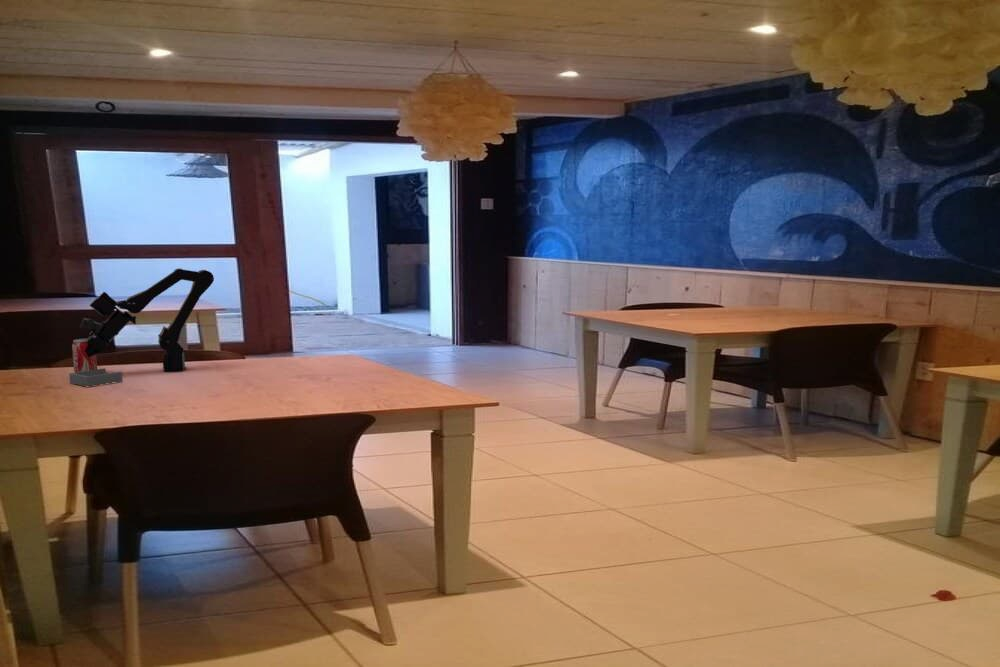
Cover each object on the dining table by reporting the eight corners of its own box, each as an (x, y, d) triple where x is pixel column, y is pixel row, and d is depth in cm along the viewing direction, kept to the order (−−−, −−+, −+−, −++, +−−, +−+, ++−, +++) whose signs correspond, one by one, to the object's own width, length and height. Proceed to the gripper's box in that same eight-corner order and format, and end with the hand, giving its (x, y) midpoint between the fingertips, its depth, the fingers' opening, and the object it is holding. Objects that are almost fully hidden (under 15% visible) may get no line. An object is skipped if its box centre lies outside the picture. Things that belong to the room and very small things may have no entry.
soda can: (95, 374, 272) (92, 337, 270) (100, 377, 266) (96, 339, 265) (72, 376, 267) (69, 339, 266) (77, 379, 262) (73, 341, 260)
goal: (105, 377, 265) (104, 368, 265) (122, 381, 258) (121, 371, 258) (70, 383, 256) (69, 373, 256) (87, 387, 249) (86, 377, 249)
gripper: (94, 307, 274) (61, 340, 270) (93, 312, 257) (58, 347, 254) (120, 328, 278) (88, 360, 275) (121, 334, 262) (87, 368, 258)
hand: (80, 358), depth 265 cm, fingers closed on soda can, 4 cm apart
